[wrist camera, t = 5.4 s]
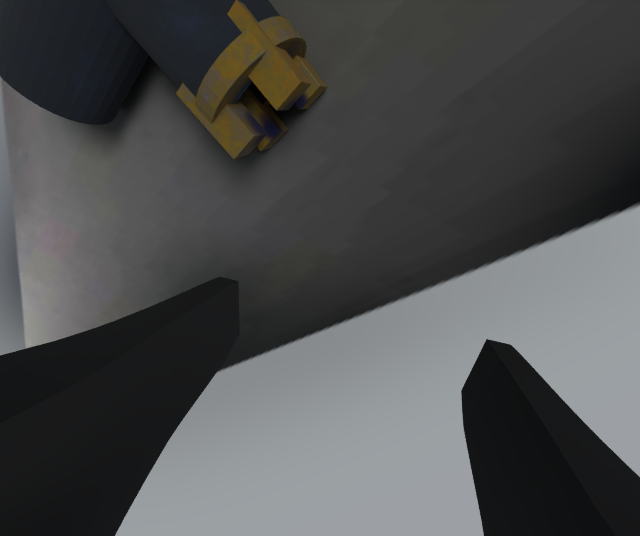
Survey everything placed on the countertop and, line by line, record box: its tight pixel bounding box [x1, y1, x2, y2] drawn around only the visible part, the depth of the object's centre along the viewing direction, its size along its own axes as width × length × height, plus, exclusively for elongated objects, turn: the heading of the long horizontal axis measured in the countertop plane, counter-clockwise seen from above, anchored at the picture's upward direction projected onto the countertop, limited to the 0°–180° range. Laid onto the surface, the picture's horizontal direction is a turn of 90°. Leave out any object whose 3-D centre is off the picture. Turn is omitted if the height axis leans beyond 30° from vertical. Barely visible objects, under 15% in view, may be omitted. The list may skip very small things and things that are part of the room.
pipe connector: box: [0, 0, 327, 159], centre depth 13 cm, size 12×5×15 cm
